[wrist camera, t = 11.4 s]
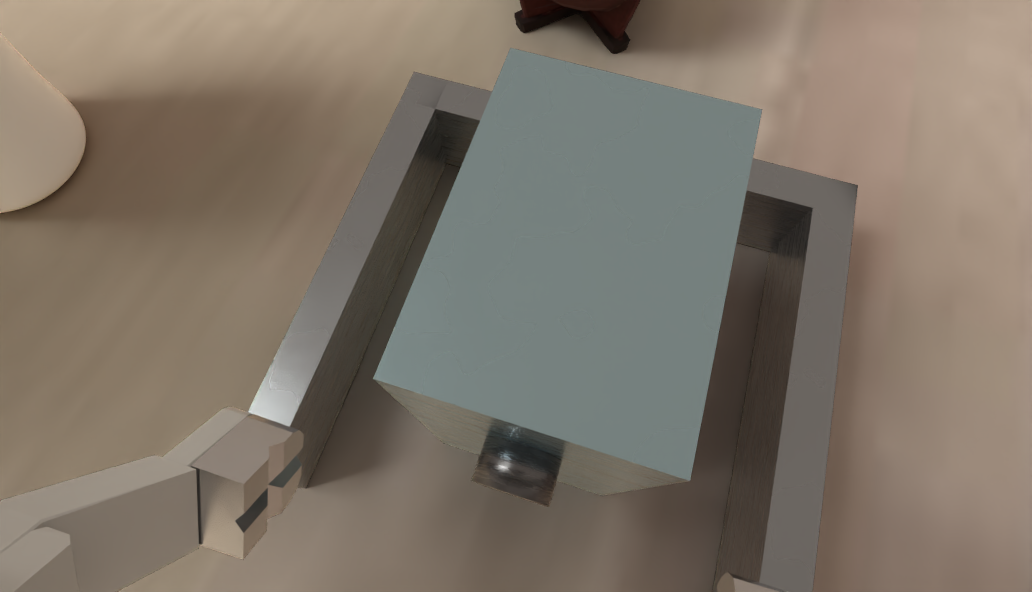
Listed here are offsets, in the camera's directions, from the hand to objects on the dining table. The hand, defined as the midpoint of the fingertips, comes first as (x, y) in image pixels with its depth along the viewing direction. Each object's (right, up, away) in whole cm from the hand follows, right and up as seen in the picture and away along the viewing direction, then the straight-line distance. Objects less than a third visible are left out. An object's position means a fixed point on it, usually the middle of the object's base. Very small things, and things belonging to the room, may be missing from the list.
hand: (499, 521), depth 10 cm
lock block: (+2, +2, +8) cm, 8 cm away
